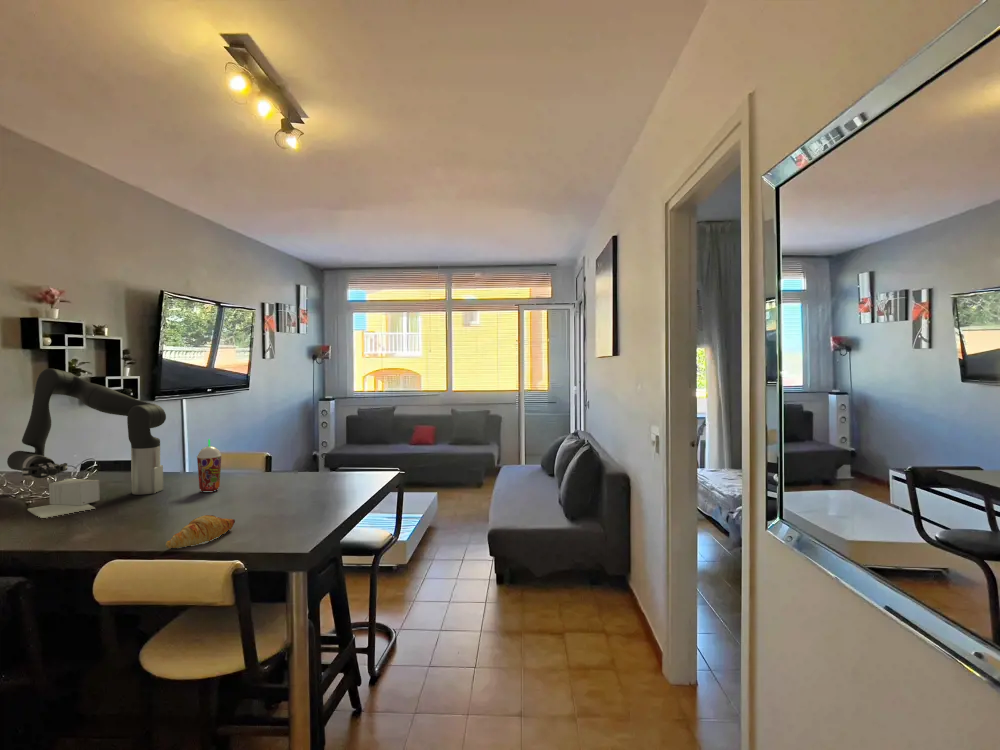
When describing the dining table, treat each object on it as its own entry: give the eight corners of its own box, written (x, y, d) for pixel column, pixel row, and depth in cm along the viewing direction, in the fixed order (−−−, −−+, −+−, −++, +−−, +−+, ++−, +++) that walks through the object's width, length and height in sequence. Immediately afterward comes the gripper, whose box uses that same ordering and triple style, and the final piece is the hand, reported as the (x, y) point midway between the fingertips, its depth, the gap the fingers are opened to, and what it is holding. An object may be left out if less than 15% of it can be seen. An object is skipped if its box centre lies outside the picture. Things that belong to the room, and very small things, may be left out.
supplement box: (69, 498, 191) (100, 500, 189) (48, 504, 183) (80, 506, 181) (69, 478, 190) (100, 479, 188) (48, 482, 183) (80, 484, 181)
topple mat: (27, 510, 178) (27, 508, 178) (79, 501, 189) (79, 500, 189) (41, 519, 168) (41, 517, 168) (95, 509, 180) (95, 507, 180)
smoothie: (214, 493, 201) (214, 440, 201) (192, 493, 201) (192, 440, 201) (226, 488, 210) (225, 437, 209) (205, 488, 210) (204, 437, 209)
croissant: (174, 566, 140) (184, 542, 138) (150, 544, 143) (159, 520, 141) (240, 539, 159) (249, 517, 158) (217, 520, 162) (226, 499, 161)
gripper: (14, 458, 188) (27, 464, 178) (61, 453, 199) (76, 458, 189) (14, 479, 189) (28, 486, 178) (61, 473, 199) (77, 479, 189)
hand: (53, 472), depth 183 cm, fingers closed
